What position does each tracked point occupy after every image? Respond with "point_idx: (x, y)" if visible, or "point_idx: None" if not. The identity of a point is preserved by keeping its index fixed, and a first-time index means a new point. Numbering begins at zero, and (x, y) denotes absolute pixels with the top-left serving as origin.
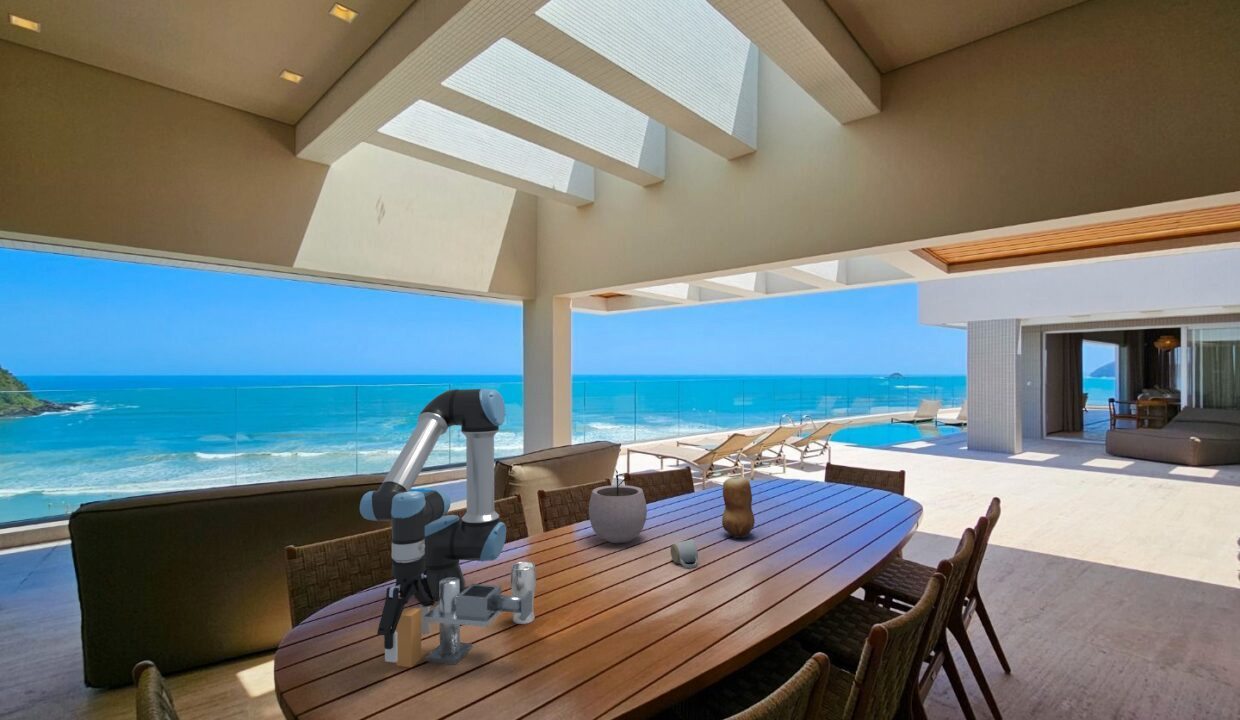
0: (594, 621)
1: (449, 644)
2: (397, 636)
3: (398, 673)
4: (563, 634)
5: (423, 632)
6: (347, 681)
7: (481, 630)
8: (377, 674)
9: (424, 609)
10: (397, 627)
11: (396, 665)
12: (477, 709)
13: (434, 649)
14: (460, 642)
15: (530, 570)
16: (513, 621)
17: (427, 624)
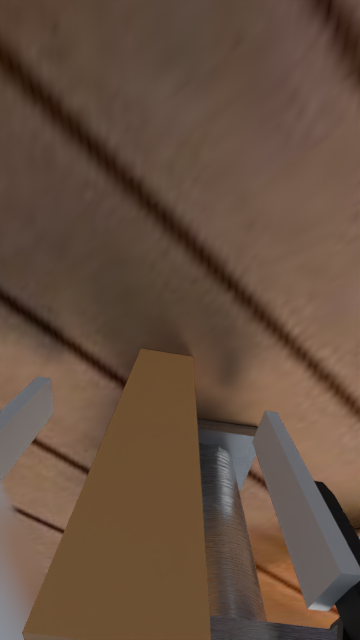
0: (311, 612)
1: None
2: (107, 431)
3: (102, 369)
4: (270, 587)
5: (260, 428)
6: (26, 228)
7: (326, 484)
8: (86, 313)
9: (312, 571)
10: (86, 484)
11: (140, 349)
12: (22, 526)
13: (211, 431)
14: (246, 474)
15: None
16: (355, 530)
17: (266, 476)
